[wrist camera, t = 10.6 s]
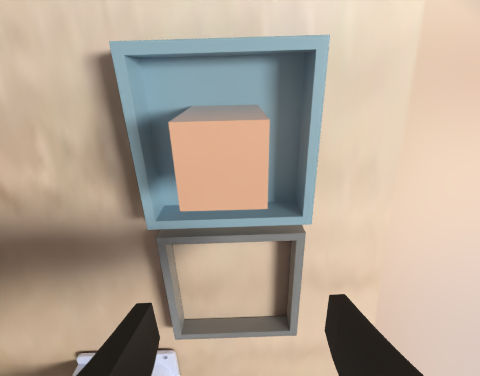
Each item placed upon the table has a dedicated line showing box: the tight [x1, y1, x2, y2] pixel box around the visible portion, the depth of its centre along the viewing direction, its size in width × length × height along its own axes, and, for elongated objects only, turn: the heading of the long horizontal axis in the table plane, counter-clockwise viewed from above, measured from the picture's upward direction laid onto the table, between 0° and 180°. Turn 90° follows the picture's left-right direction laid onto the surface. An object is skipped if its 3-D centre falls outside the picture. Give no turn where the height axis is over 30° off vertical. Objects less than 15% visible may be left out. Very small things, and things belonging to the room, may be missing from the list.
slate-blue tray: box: [109, 35, 330, 230], centre depth 16 cm, size 11×11×3 cm
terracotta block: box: [168, 104, 270, 211], centre depth 14 cm, size 4×4×6 cm
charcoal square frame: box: [156, 225, 306, 340], centre depth 21 cm, size 11×11×2 cm
